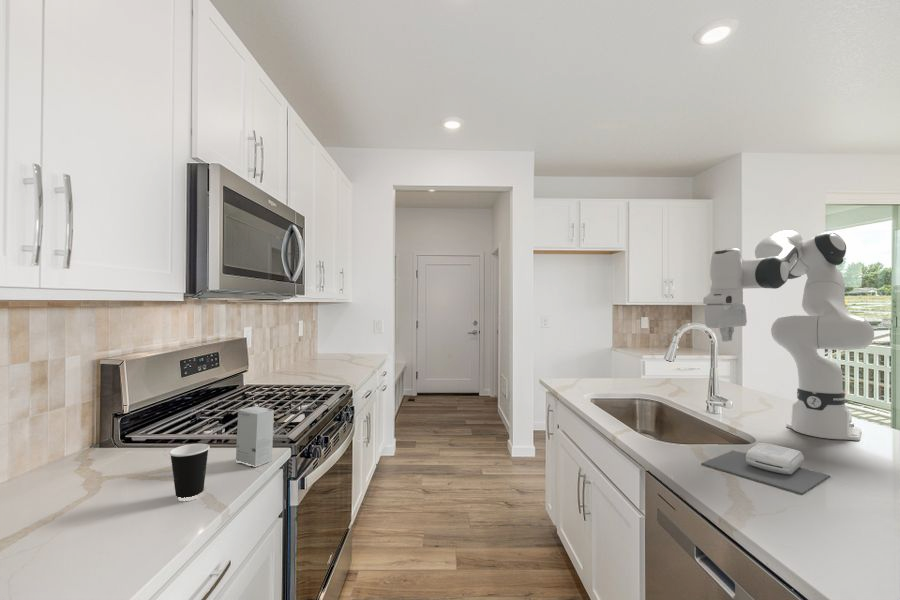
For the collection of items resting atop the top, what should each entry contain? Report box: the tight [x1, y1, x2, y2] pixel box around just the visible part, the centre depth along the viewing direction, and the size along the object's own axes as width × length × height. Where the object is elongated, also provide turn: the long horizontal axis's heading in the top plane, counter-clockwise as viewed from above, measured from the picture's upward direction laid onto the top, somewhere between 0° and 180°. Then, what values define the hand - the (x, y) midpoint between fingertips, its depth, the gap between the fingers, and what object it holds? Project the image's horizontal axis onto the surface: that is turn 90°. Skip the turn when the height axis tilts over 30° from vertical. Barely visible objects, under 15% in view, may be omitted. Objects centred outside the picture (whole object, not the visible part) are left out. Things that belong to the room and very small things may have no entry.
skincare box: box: [235, 405, 275, 466], centre depth 119 cm, size 8×6×15 cm
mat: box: [701, 449, 831, 496], centre depth 111 cm, size 18×22×1 cm
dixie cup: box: [168, 443, 211, 498], centre depth 98 cm, size 8×8×11 cm
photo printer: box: [746, 442, 805, 474], centre depth 112 cm, size 10×4×12 cm
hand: (727, 341), depth 138 cm, fingers closed
